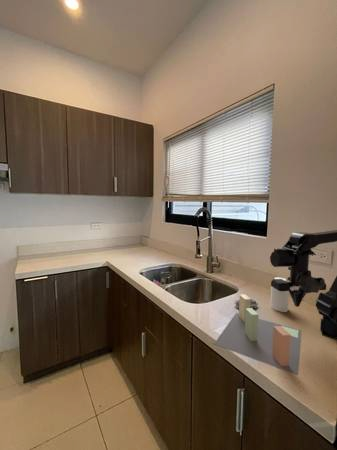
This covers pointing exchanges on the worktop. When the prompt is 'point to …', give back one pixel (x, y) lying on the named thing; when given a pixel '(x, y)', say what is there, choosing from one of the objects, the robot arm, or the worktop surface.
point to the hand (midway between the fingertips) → (296, 306)
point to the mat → (259, 342)
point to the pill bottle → (279, 299)
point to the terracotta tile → (281, 345)
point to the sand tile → (243, 306)
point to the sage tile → (251, 324)
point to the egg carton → (252, 304)
